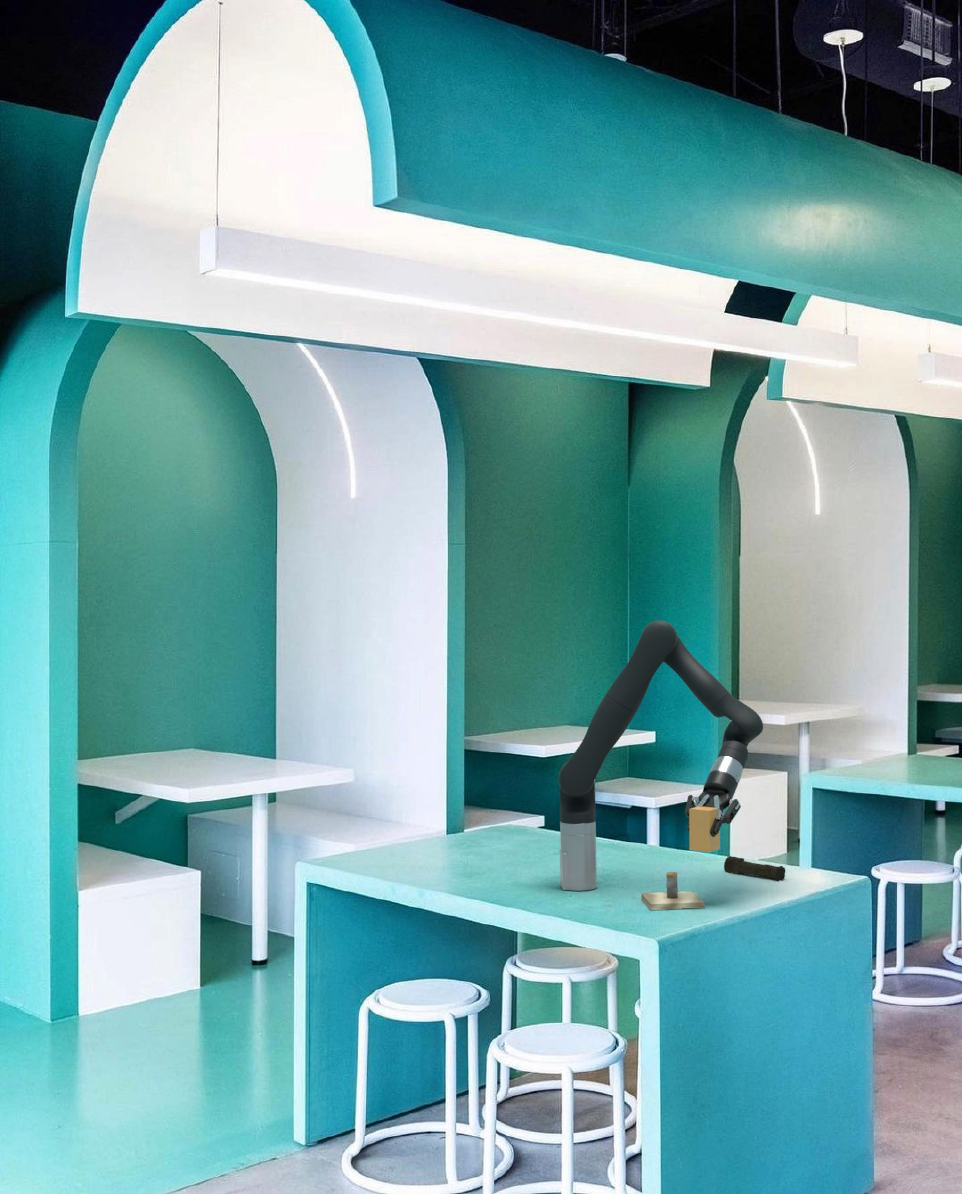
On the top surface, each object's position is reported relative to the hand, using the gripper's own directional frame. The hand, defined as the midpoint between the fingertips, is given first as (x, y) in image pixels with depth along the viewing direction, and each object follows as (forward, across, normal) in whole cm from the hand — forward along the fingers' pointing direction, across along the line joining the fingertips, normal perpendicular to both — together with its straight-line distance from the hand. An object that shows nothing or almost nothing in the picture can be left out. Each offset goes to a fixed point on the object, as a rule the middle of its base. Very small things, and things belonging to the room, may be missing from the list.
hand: (701, 833), depth 334 cm
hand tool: (-15, -6, +40) cm, 44 cm away
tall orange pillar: (+2, 0, +4) cm, 5 cm away
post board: (+13, -7, +12) cm, 19 cm away
